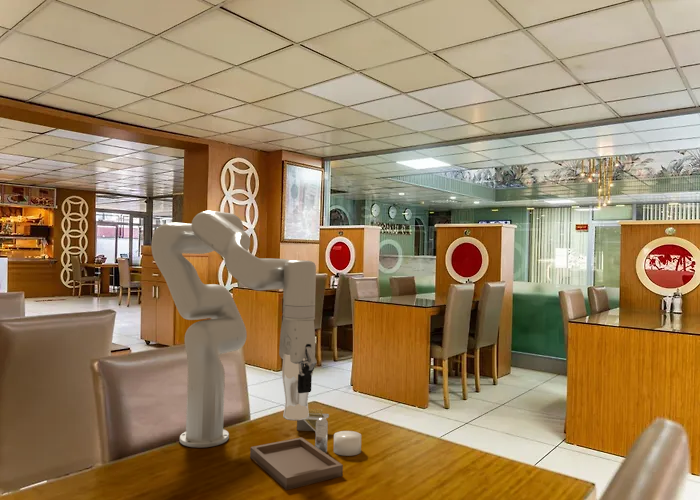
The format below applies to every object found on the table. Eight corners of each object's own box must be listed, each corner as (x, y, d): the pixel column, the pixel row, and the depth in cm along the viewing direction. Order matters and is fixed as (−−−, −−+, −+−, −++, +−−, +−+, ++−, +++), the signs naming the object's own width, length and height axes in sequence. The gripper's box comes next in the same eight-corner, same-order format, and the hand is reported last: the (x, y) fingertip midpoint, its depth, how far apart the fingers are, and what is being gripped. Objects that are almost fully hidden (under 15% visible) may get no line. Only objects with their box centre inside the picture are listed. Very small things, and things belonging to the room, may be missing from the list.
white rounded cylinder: (328, 452, 130) (328, 436, 130) (341, 444, 136) (342, 429, 136) (353, 457, 127) (353, 440, 127) (365, 449, 133) (365, 433, 133)
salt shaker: (312, 450, 131) (313, 417, 131) (323, 448, 133) (324, 415, 133) (318, 454, 128) (319, 420, 129) (329, 452, 130) (330, 418, 130)
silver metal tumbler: (277, 420, 118) (278, 354, 118) (286, 411, 125) (288, 349, 125) (306, 422, 117) (307, 356, 117) (314, 413, 124) (315, 351, 124)
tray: (250, 457, 125) (250, 447, 126) (301, 447, 133) (301, 437, 133) (286, 490, 109) (286, 478, 109) (342, 476, 116) (342, 465, 116)
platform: (340, 442, 138) (341, 417, 138) (274, 439, 139) (275, 415, 139) (343, 427, 150) (344, 405, 150) (282, 424, 151) (283, 402, 151)
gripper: (269, 309, 126) (267, 382, 126) (301, 317, 112) (299, 400, 112) (296, 308, 131) (294, 379, 130) (331, 316, 116) (329, 395, 116)
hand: (297, 388), depth 121 cm, fingers closed on silver metal tumbler, 6 cm apart
